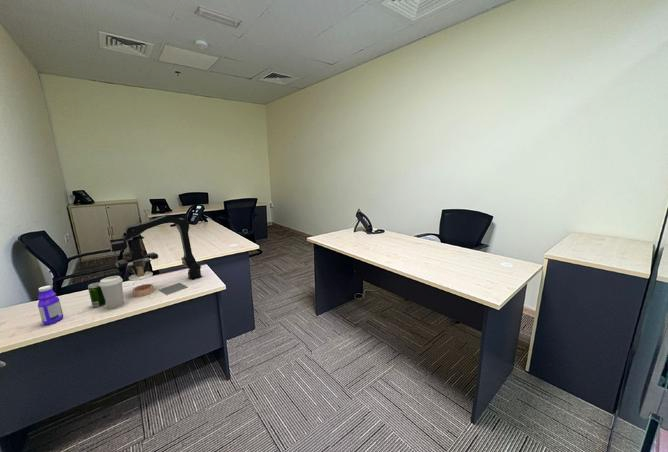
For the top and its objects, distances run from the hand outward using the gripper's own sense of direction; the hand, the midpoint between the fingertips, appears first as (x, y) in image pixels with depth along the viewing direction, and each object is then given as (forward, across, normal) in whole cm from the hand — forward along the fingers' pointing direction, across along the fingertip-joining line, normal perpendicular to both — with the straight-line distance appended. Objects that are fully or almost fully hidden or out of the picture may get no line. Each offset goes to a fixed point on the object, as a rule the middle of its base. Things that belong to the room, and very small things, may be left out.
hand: (140, 274), depth 149 cm
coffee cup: (+12, +14, +4) cm, 19 cm away
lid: (+2, 0, 0) cm, 2 cm away
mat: (+12, -12, +9) cm, 19 cm away
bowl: (+12, 0, 0) cm, 12 cm away
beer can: (+12, +19, -4) cm, 23 cm away
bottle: (+12, +36, -3) cm, 38 cm away
